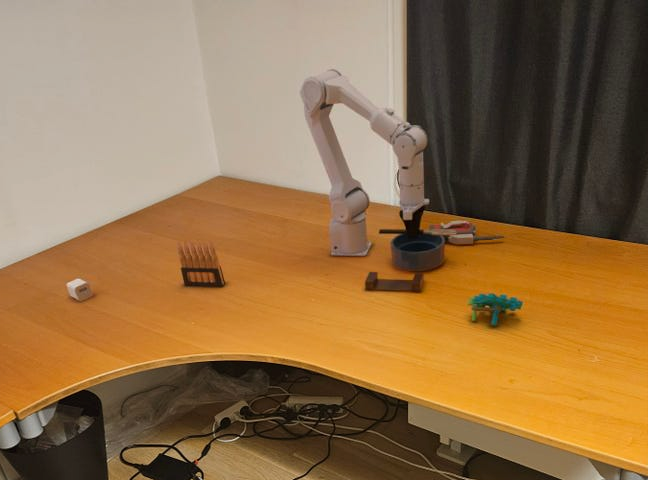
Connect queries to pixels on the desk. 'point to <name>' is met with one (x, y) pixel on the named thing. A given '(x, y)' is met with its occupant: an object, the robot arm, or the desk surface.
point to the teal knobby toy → (493, 305)
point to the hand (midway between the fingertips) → (413, 236)
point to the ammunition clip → (200, 266)
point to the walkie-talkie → (462, 232)
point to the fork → (432, 232)
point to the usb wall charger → (79, 289)
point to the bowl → (417, 252)
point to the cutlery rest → (394, 283)
